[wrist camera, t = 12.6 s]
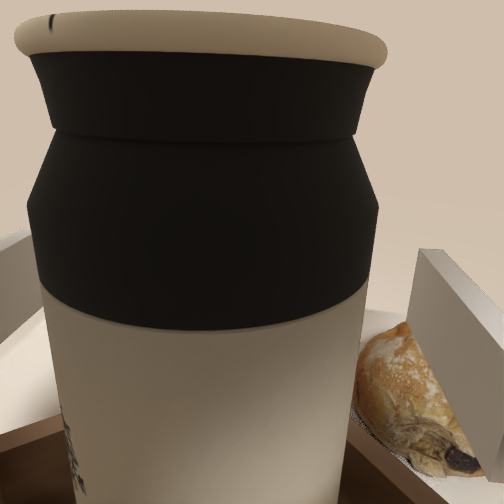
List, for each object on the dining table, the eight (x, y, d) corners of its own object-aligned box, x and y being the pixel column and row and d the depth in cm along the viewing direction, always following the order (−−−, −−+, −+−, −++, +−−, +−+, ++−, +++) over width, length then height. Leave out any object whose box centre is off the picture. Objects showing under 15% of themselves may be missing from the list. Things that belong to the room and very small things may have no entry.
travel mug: (307, 490, 19) (352, 59, 13) (341, 742, 12) (488, 13, 5) (133, 485, 19) (91, 50, 13) (57, 734, 12) (-137, -6, 5)
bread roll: (345, 489, 25) (366, 439, 19) (345, 339, 32) (360, 269, 26) (526, 516, 23) (608, 471, 18) (484, 353, 30) (533, 283, 25)
